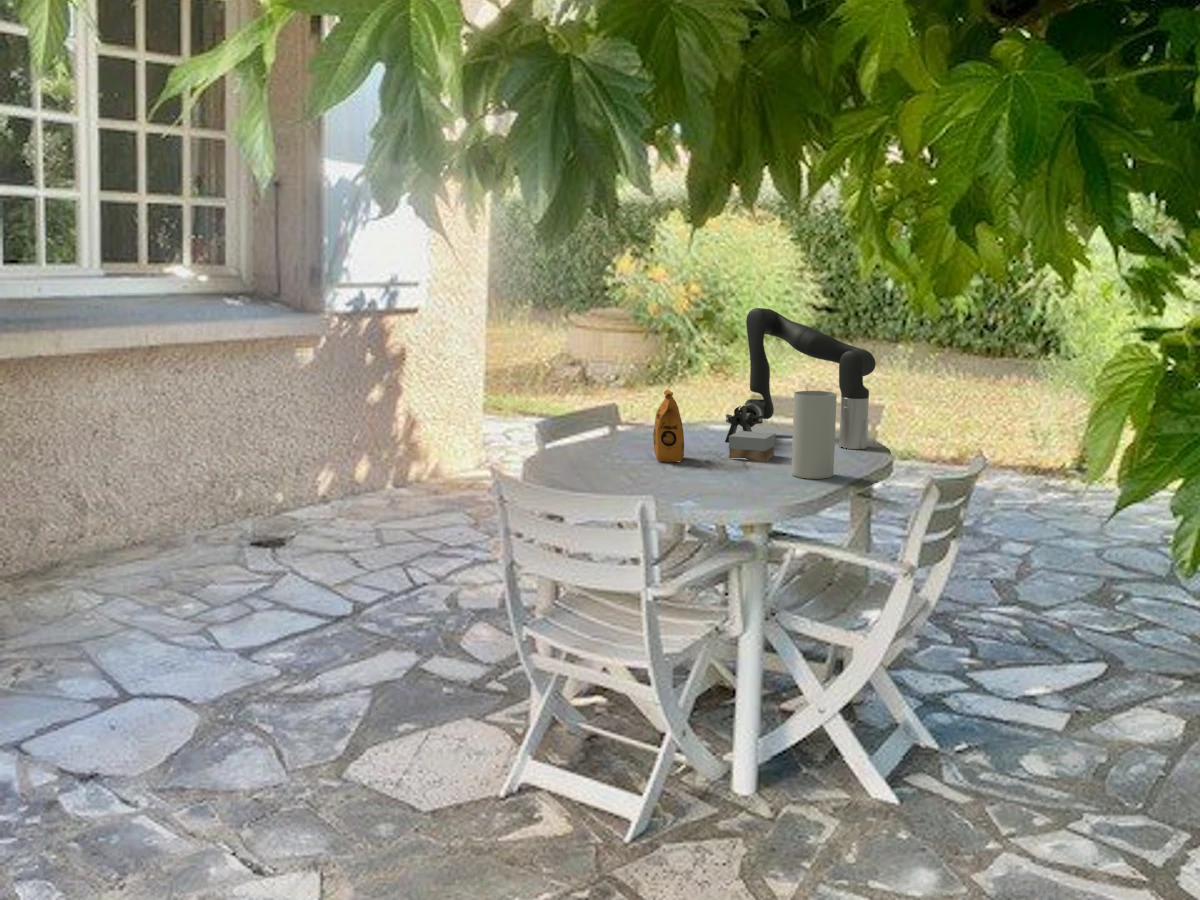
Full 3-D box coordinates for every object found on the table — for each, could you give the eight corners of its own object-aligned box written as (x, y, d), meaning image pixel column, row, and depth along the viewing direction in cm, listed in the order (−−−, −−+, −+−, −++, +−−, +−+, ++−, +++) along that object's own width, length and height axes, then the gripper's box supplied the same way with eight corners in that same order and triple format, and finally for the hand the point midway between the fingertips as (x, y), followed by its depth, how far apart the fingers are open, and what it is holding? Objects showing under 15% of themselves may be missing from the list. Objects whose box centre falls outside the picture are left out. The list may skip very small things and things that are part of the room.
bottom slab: (773, 457, 412) (773, 445, 411) (765, 463, 401) (766, 450, 400) (737, 454, 416) (738, 442, 415) (729, 460, 405) (729, 448, 404)
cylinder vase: (829, 481, 370) (832, 397, 366) (787, 477, 375) (790, 394, 370) (836, 473, 382) (840, 391, 377) (796, 470, 386) (798, 389, 382)
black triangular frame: (724, 442, 422) (725, 407, 420) (728, 439, 428) (729, 404, 426) (751, 443, 419) (751, 408, 417) (754, 441, 425) (755, 405, 423)
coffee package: (652, 462, 398) (653, 393, 394) (653, 455, 410) (654, 388, 406) (684, 463, 397) (685, 394, 393) (683, 456, 409) (685, 389, 405)
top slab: (775, 445, 410) (775, 433, 410) (764, 451, 399) (765, 438, 399) (739, 442, 415) (740, 430, 414) (728, 448, 404) (729, 436, 403)
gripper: (730, 404, 437) (718, 410, 421) (768, 405, 433) (758, 412, 417) (729, 425, 439) (718, 432, 422) (768, 426, 434) (758, 434, 418)
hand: (738, 422), depth 420 cm, fingers closed on black triangular frame, 1 cm apart
